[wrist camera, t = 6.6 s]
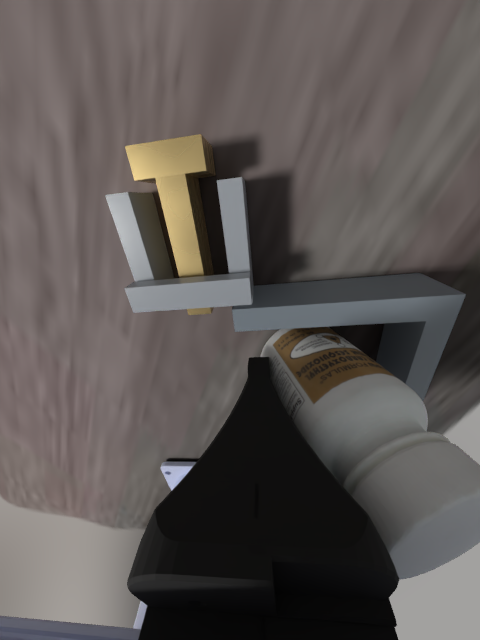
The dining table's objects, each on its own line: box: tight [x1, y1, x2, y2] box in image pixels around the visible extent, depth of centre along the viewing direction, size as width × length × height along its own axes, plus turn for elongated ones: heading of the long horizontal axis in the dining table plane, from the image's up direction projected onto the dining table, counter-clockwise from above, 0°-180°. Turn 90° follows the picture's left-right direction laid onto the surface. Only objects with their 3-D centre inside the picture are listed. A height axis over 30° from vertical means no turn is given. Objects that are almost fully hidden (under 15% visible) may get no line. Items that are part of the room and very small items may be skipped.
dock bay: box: [105, 177, 466, 401], centre depth 10 cm, size 12×12×3 cm
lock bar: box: [125, 134, 216, 315], centre depth 9 cm, size 6×2×2 cm, turn 6°
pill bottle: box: [261, 327, 480, 579], centre depth 8 cm, size 4×4×8 cm
